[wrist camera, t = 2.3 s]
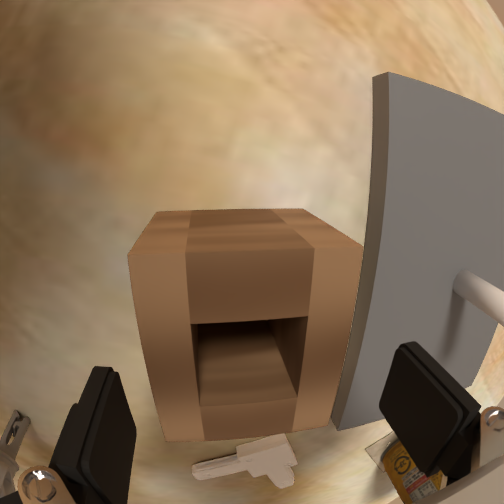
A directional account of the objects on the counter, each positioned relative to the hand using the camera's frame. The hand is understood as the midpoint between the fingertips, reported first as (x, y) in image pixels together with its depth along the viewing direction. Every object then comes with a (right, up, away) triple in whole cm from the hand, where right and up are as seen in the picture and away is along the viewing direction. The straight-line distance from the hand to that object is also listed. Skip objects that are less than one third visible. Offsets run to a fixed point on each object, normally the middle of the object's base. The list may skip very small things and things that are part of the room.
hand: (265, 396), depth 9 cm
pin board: (+12, +3, +8) cm, 15 cm away
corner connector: (-1, -13, +12) cm, 18 cm away
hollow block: (-1, +3, +6) cm, 7 cm away
